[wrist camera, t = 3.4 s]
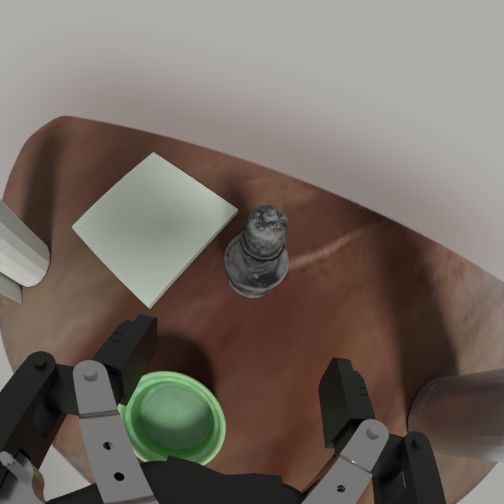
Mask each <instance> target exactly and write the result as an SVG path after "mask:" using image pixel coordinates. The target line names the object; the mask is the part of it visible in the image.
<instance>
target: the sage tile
mask: <svg viewBox="0 0 504 504" xmlns="http://www.w3.org/2000/svg"><path fill="white" fill-rule="evenodd" d="M237 214H238V209H237V208H235V207H234V206H233V205H231V204H230V203H228V202H227V201H225V200H224V199H222V198H221V197H220V196H218V195H217V194H215V193H214V192H212V191H211V190H209V189H208V188H206V187H205V186H203V185H202V184H201V183H199V182H198V181H196V180H195V179H193V178H192V177H190V176H189V175H187V174H186V173H184V172H183V171H181V170H180V169H178V168H177V167H175V166H174V165H172V164H171V163H169V162H168V161H166V160H165V159H163V158H162V157H160V156H159V155H157V154H156V153H154V152H153V153H152V154H151V155H149V156H148V157H147V158H146V159H144V160H143V161H142V162H141V163H140V164H138V165H137V166H136V167H135V168H134V169H132V170H131V171H130V172H129V173H128V174H127V175H125V176H124V177H123V178H122V179H121V180H120V181H119V182H117V183H116V184H115V185H114V186H113V187H112V188H111V189H110V190H109V191H107V192H106V193H105V194H104V195H103V196H102V197H101V198H100V199H99V200H98V201H97V202H96V203H95V204H94V205H93V206H92V207H91V208H90V209H89V210H88V211H87V212H86V213H85V214H84V215H83V216H82V217H81V218H80V219H79V220H78V221H77V222H76V223H75V224H74V225H73V226H72V228H73V229H74V231H75V232H76V233H77V234H78V235H79V236H80V238H81V239H82V240H83V241H84V242H85V243H86V244H87V246H88V247H89V248H90V249H91V250H92V251H93V252H94V253H95V254H96V255H97V257H98V258H99V259H100V260H101V261H102V262H103V263H104V264H105V265H106V266H107V267H108V268H109V269H110V270H111V271H112V272H113V273H114V274H115V275H116V277H117V278H118V279H119V280H120V281H121V282H122V283H123V284H124V285H125V286H126V287H127V288H128V289H129V290H131V291H132V292H133V293H134V294H135V295H136V296H137V297H138V298H139V299H140V300H141V301H142V302H143V303H144V304H145V305H146V306H147V307H148V308H149V309H151V307H152V306H153V305H154V304H155V303H156V302H157V301H158V299H159V298H160V297H161V296H162V295H163V294H164V293H165V292H166V290H167V289H168V288H169V287H170V286H171V285H172V284H173V283H174V281H175V280H176V279H177V278H178V277H179V276H180V275H181V274H182V273H183V271H184V270H185V269H186V268H187V267H188V266H189V265H190V264H191V263H192V262H193V261H194V259H195V258H196V257H197V256H198V255H199V254H200V253H201V252H202V251H203V250H204V249H205V247H206V246H207V245H208V244H209V243H210V242H211V241H212V240H213V239H214V238H215V237H216V236H217V235H218V234H219V233H220V231H221V230H222V229H223V228H224V227H225V226H226V225H227V224H228V223H229V222H230V221H231V220H232V219H233V218H234V217H235V216H236V215H237Z"/></svg>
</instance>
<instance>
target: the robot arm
mask: <svg viewBox="0 0 504 504" xmlns="http://www.w3.org/2000/svg"><path fill="white" fill-rule="evenodd" d="M156 344H157V318H156V317H153V316H150V315H147V314H144V313H140V314H139V315H138V317H137V318H136V319H135V321H134V322H132V321H129V320H127V321H125V322H123V323H121V324H119V325H118V326H117V328H116V329H115V330H114V332H113V333H112V334H111V335H110V337H109V339H107V340H106V342H105V343H104V344H103V346H102V347H101V348H100V350H99V351H98V352H97V353H96V355H95V356H94V357H93V359H92V360H87V361H83V362H80V363H79V364H77V365H76V366H75V367H73V366H66V365H61V364H56V362H55V359H54V357H53V356H52V355H51V354H49V353H47V352H43V351H38V352H35V353H32V354H31V355H29V356H28V357H27V359H26V360H25V361H24V362H23V364H22V365H21V366H20V367H19V368H18V370H17V371H16V372H15V373H14V375H13V376H12V377H11V379H10V380H9V381H8V383H7V384H6V385H5V386H4V388H3V389H2V391H1V392H0V503H1V504H355V503H356V502H357V500H358V499H359V497H360V496H361V494H362V492H363V491H364V489H365V488H366V486H367V484H368V483H369V481H370V479H371V478H372V483H373V492H374V502H375V504H446V500H445V496H444V492H443V487H442V483H441V479H440V476H439V472H438V468H437V464H436V461H435V457H434V454H433V451H435V452H439V453H443V454H448V455H453V456H459V457H465V458H471V459H477V460H485V461H493V462H504V368H503V369H497V370H492V371H486V372H479V373H473V374H465V375H456V376H447V377H439V378H435V379H433V380H431V381H429V382H428V383H427V384H426V385H424V386H423V387H422V389H421V390H420V391H419V392H418V394H417V396H416V397H415V399H414V401H413V404H412V406H411V409H410V413H409V418H408V432H409V433H408V434H407V435H406V436H405V437H401V436H397V435H393V434H390V433H388V430H387V428H386V426H385V425H384V424H383V423H381V422H379V421H377V420H376V419H375V415H374V412H373V408H372V405H371V401H370V398H369V396H368V391H367V389H366V385H365V382H364V379H363V378H362V376H361V375H360V374H359V373H358V371H353V368H352V364H351V361H350V360H349V359H342V358H335V357H334V358H333V359H332V360H331V362H330V364H329V366H328V367H327V369H326V371H325V373H324V375H323V377H322V379H321V381H320V384H319V399H320V407H321V415H322V423H323V431H324V440H325V448H334V450H335V454H334V455H333V456H332V457H331V458H330V459H329V461H328V462H327V463H326V464H325V466H324V467H323V468H322V469H321V470H320V472H319V473H318V474H317V475H316V476H315V478H314V479H313V480H312V481H311V482H310V483H309V484H308V485H307V486H306V487H305V488H304V489H303V490H302V491H301V492H300V491H299V490H297V489H295V488H294V487H292V486H290V485H287V484H285V483H282V476H275V475H265V474H257V473H251V474H235V475H225V474H221V473H219V472H216V471H214V470H212V469H210V468H207V467H205V466H203V465H201V464H199V463H196V462H193V461H189V460H185V459H181V458H178V457H174V456H171V455H168V457H167V460H166V461H161V460H160V461H147V462H142V463H139V462H138V460H137V458H136V455H135V453H134V450H133V448H132V445H131V443H130V440H129V438H128V435H127V432H126V429H125V427H124V424H123V421H122V418H121V415H120V412H119V411H118V409H117V406H118V404H121V405H124V406H126V407H127V405H128V403H129V401H130V399H131V397H132V395H133V393H134V391H135V389H136V387H137V385H138V383H139V382H140V380H141V378H142V376H143V374H144V372H145V370H146V368H147V366H148V365H149V363H150V361H151V359H152V357H153V355H154V353H155V349H156ZM67 414H73V415H78V416H79V423H80V427H81V432H82V436H83V440H84V444H85V448H86V451H87V455H88V458H89V462H90V465H91V468H92V471H93V475H94V478H95V480H96V483H94V484H92V485H89V486H87V487H84V488H82V489H80V490H77V491H74V492H71V493H69V494H66V495H63V496H60V497H57V498H54V499H51V500H49V501H47V502H45V500H44V496H43V489H44V479H43V476H42V474H41V473H40V472H39V468H40V466H41V464H42V462H43V460H44V458H45V456H46V454H47V452H48V450H49V447H50V446H51V444H52V442H53V440H54V438H55V436H56V434H57V432H58V430H59V428H60V426H61V425H62V423H63V421H64V419H65V417H66V415H67ZM403 475H404V479H403ZM404 480H405V485H406V489H405V485H404Z"/></svg>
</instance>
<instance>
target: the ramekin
mask: <svg viewBox="0 0 504 504" xmlns="http://www.w3.org/2000/svg"><path fill="white" fill-rule="evenodd" d="M117 409H118V411H119V412H120V415H121V418H122V421H123V424H124V427H125V429H126V432H127V435H128V438H129V440H130V443H131V445H132V448H133V450H134V453H135V455H136V456H138V457H139V458H140V459H141V460H143V461H144V462H147V461H160V460H161V461H166V460H167V457H168V455H171V456H174V457H178V458H181V459H185V460H189V461H193V462H196V463H199V464H201V465H205V464H206V463H208V462H209V461H210V460H212V459H213V458H214V457H215V455H216V454H217V453H218V452H219V450H220V448H221V446H222V444H223V442H224V438H225V433H226V422H225V417H224V413H223V410H222V408H221V406H220V404H219V402H218V400H217V399H216V397H215V396H214V395H213V393H212V392H211V391H210V390H209V389H208V388H207V387H206V386H204V385H203V384H202V383H200V382H199V381H197V380H196V379H194V378H192V377H190V376H187V375H185V374H182V373H178V372H173V371H156V372H151V373H148V374H145V375H143V376H142V378H141V380H140V382H139V383H138V385H137V387H136V389H135V391H134V393H133V395H132V397H131V399H130V401H129V403H128V405H127V407H126V406H124V405H121V404H118V408H117Z"/></svg>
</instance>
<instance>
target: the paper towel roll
mask: <svg viewBox="0 0 504 504" xmlns="http://www.w3.org/2000/svg"><path fill="white" fill-rule="evenodd" d="M49 264H50V253H49V250H48V247H47V245H46V244H45V243H44V242H43V241H42V240H41V239H40V238H39V237H37V236H36V235H35V234H34V233H33V232H32V231H31V230H30V229H29V228H28V227H27V226H26V225H25V224H24V223H23V222H22V221H21V220H20V219H19V218H18V217H17V216H16V215H15V214H14V213H13V212H12V211H11V210H10V209H9V208H8V207H7V206H6V205H5V204H4V203H3V202H2V200H1V199H0V293H1V294H3V295H5V296H7V297H9V298H11V299H13V300H15V301H17V302H19V303H21V304H22V297H21V291H20V288H19V285H18V283H19V284H21V285H24V286H26V287H30V286H34V285H36V284H37V283H39V282H40V281H41V280H42V279H43V277H44V276H45V274H46V273H47V270H48V267H49ZM17 282H18V283H17Z"/></svg>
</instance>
